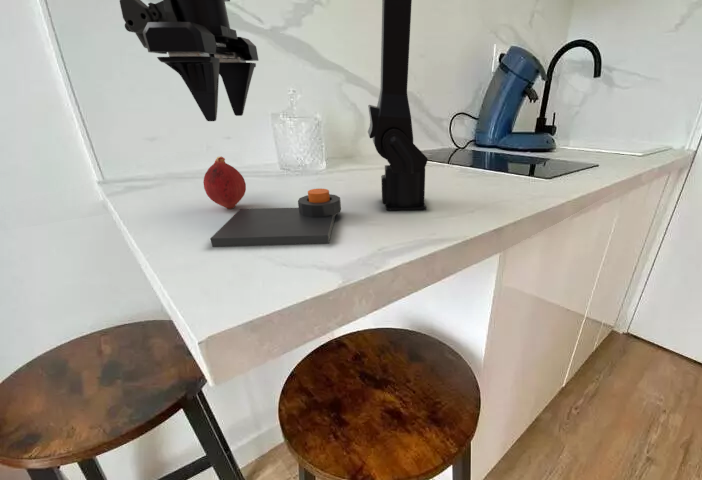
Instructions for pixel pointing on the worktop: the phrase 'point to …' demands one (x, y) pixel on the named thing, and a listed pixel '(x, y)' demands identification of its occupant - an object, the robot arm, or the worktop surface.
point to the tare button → (318, 195)
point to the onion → (224, 184)
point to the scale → (280, 225)
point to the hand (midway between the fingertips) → (226, 118)
